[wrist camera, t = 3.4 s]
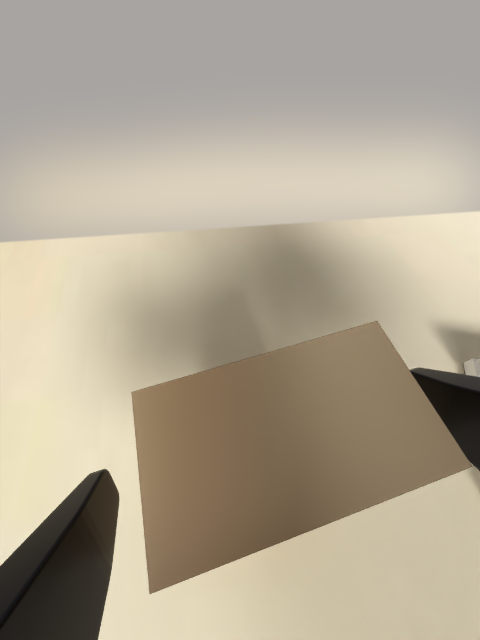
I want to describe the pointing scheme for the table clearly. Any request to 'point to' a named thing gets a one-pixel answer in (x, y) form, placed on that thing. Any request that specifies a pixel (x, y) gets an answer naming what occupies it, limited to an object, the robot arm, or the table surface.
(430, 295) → the table surface
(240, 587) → the table surface
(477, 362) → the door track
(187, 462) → the wooden block
